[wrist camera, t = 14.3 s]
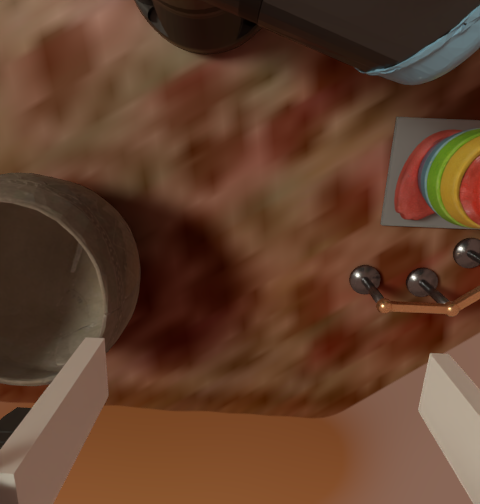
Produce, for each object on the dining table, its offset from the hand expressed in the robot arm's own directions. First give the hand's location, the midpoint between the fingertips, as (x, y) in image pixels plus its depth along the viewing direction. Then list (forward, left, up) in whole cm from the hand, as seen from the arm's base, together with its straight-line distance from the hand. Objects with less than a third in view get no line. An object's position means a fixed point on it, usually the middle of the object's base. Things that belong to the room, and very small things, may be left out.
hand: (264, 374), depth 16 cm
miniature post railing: (+6, +20, -33) cm, 39 cm away
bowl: (+6, -22, -33) cm, 40 cm away
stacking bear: (-5, +21, -32) cm, 39 cm away
